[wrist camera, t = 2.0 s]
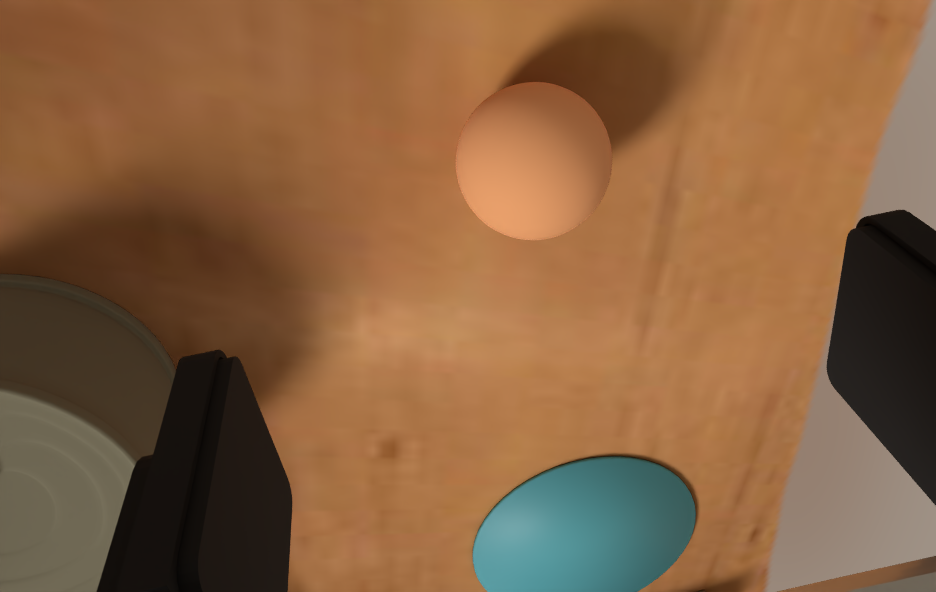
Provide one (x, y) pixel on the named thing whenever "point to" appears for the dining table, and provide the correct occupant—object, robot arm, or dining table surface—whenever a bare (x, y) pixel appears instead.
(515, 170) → the ball
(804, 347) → the dining table surface
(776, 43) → the dining table surface
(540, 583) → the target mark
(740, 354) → the dining table surface
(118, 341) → the can
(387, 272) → the dining table surface
